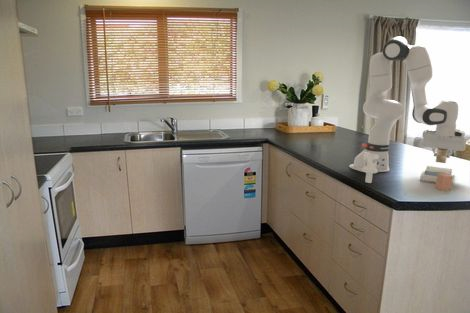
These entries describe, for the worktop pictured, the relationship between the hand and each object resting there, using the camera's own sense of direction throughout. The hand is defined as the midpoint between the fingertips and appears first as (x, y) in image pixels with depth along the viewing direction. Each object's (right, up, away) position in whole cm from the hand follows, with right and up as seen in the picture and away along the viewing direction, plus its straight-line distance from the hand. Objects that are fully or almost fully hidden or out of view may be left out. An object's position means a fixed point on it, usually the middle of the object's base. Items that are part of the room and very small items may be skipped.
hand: (441, 156), depth 189 cm
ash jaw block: (0, -3, +1) cm, 3 cm away
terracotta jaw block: (-12, -15, -21) cm, 28 cm away
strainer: (-44, -13, -13) cm, 47 cm away
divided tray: (-4, -11, -2) cm, 12 cm away
